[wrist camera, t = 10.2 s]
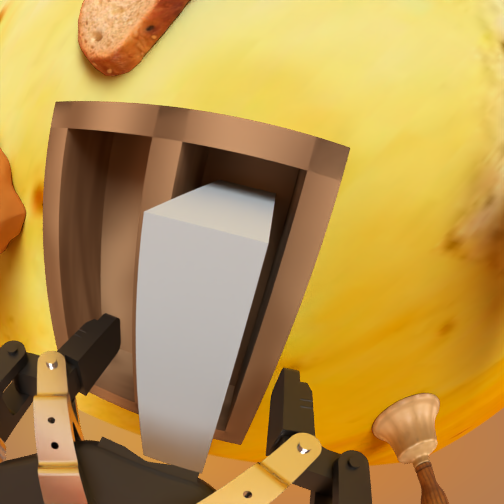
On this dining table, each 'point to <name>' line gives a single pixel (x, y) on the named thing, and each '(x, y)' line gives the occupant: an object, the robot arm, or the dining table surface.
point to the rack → (162, 190)
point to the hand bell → (413, 439)
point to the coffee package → (9, 206)
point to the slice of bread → (123, 30)
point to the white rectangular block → (194, 312)
